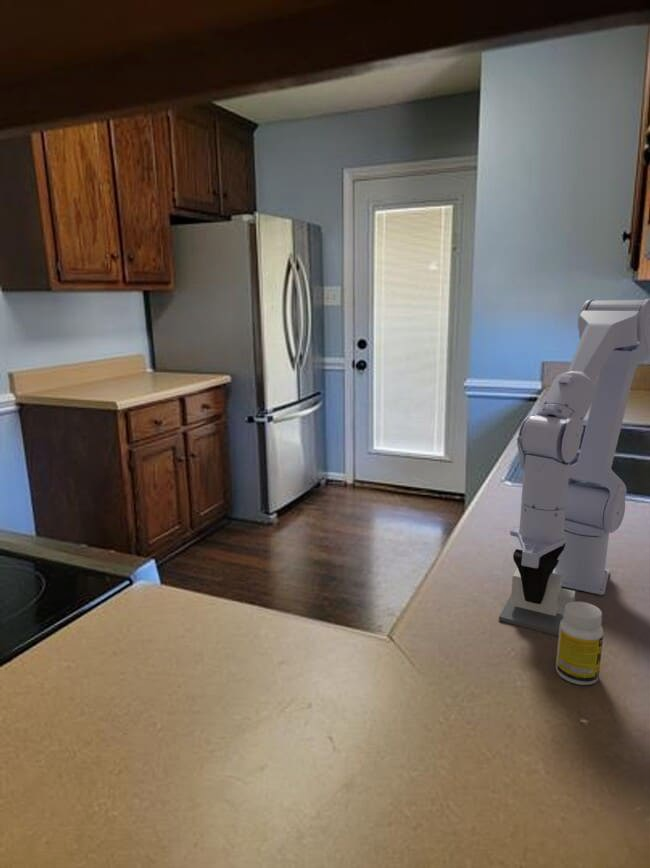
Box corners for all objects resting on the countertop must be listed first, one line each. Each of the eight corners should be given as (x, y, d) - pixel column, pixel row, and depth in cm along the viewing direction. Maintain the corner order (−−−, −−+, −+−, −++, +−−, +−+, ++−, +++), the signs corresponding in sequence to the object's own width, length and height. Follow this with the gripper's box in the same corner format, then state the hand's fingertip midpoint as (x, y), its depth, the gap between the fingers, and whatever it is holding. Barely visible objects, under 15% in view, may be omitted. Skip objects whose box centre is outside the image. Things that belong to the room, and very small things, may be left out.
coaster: (512, 596, 88) (512, 592, 88) (568, 609, 84) (569, 605, 84) (498, 620, 81) (499, 616, 81) (560, 636, 77) (560, 632, 77)
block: (516, 594, 85) (518, 566, 84) (574, 608, 81) (577, 578, 80) (510, 605, 82) (512, 575, 81) (570, 619, 78) (573, 589, 77)
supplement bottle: (603, 689, 67) (610, 622, 65) (559, 684, 68) (565, 618, 66) (593, 664, 71) (599, 601, 69) (552, 659, 72) (557, 597, 70)
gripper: (524, 484, 87) (518, 569, 90) (500, 514, 75) (494, 611, 78) (575, 492, 84) (567, 579, 86) (558, 524, 71) (550, 625, 74)
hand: (536, 595), depth 82 cm, fingers closed on block, 3 cm apart
